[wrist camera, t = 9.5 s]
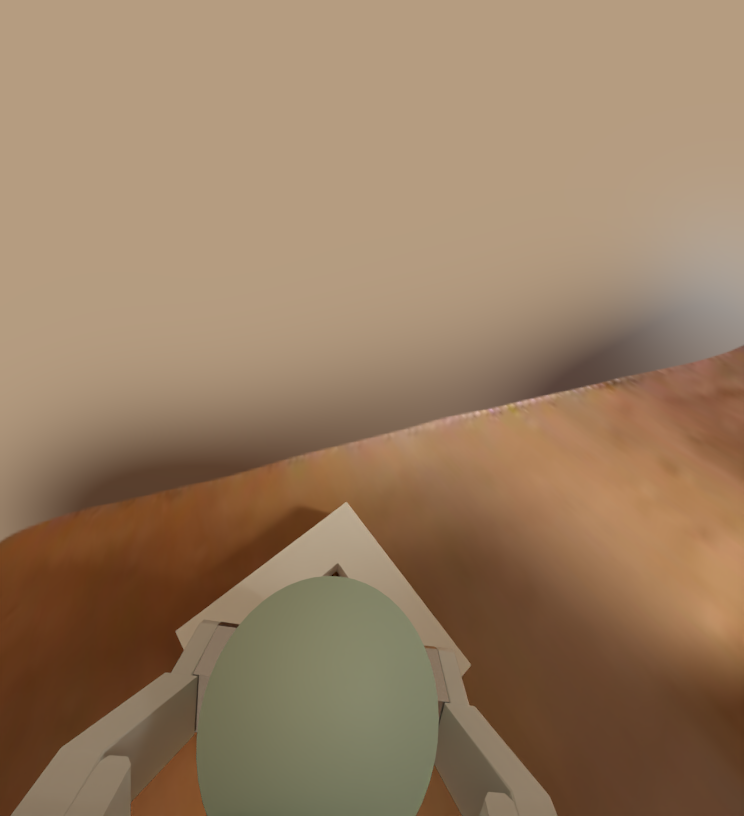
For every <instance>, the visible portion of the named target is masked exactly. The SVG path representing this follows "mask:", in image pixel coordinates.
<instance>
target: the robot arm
mask: <svg viewBox="0 0 744 816" xmlns="http://www.w3.org/2000/svg"><path fill="white" fill-rule="evenodd" d="M239 625H240V624H234V623H227V622H218V621H211V620H203V621H202V622H201V623H200V624H199V625H198V627H197V629H196V630H195V632H194V634H193V635H192V637H191V639H190V641H189V642H188V644H187V646H186V647H185V649H184V651H183V653H182V654H181V656H180V658H179V660H178V661H177V663H176V665H175V666H174V668H173V670H172V672H171V673H167V672H165V673H164V674H162V675H161V676H160V677H158V678H157V679H155V680H154V681H153V682H151V683H150V684H149V685H147V686H146V687H144V688H143V689H142V690H140V691H139V692H137V693H136V694H135V695H133V696H132V697H131V698H129V699H128V700H126V701H125V702H124V703H122V704H121V705H119V706H118V707H117V708H115V709H114V710H113V711H111V712H110V713H108V714H107V715H106V716H104V717H103V718H101V719H100V720H99V721H97V722H96V723H95V724H93V725H92V726H90V727H89V728H88V729H86V730H85V731H83V732H82V733H81V734H79V735H78V736H77V737H75V738H74V739H72V740H71V741H70V742H68V743H67V744H65V745H64V746H63V747H61V748H60V750H59V751H58V752H57V754H56V755H55V756H54V758H53V759H52V760H51V762H50V763H49V765H48V766H47V767H46V769H45V770H44V771H43V773H42V774H41V775H40V777H39V778H38V779H37V781H36V782H35V783H34V785H33V786H32V787H31V789H30V790H29V791H28V793H27V794H26V796H25V797H24V798H23V800H22V801H21V802H20V804H19V805H18V806H17V808H16V809H15V810H14V812H13V813H12V814H11V816H130V812H131V802H132V801H133V799H134V798H135V797H136V796H137V795H138V794H139V793H140V792H141V791H142V790H143V789H144V788H145V787H146V786H147V785H148V784H149V782H150V781H151V780H152V779H153V778H154V777H155V776H156V775H157V774H158V773H159V772H160V771H161V770H162V769H163V768H164V766H165V765H166V764H167V763H168V762H169V761H170V760H171V759H172V758H173V757H174V756H175V755H176V754H177V753H178V752H179V750H180V749H181V748H182V747H183V746H184V745H185V744H186V743H187V742H188V741H189V740H190V739H191V738H192V737H193V736H194V732H197V731H198V723H199V715H200V711H201V706H202V702H203V698H204V693H205V690H206V687H207V684H208V682H209V679H210V676H211V673H212V671H213V669H214V666H215V664H216V662H217V660H218V657H219V655H220V654H221V652H222V650H223V648H224V647H225V645H226V643H227V641H228V640H229V638H230V637H231V636H232V634H233V633H234V631H235V630H236V629H237V627H238V626H239ZM424 647H425V649H426V652H427V655H428V657H429V660H430V663H431V667H432V671H433V675H434V679H435V684H436V691H437V697H438V712H439V727H438V743H437V750H436V757H435V762H434V765H435V767H436V769H437V771H438V772H439V774H440V776H441V778H442V780H443V782H444V783H445V785H446V787H447V789H448V791H449V793H450V794H451V796H452V798H453V800H454V802H455V804H456V805H457V807H458V809H459V811H460V813H461V815H462V816H557V813H556V811H555V808H554V806H553V803H552V800H551V798H550V796H549V795H548V793H547V792H546V791H545V790H544V789H543V787H542V786H541V785H540V784H539V783H538V781H537V780H536V779H535V778H534V777H533V775H532V774H531V773H530V772H529V771H528V769H527V768H526V767H525V766H524V765H523V763H522V762H521V761H520V760H519V759H518V757H517V756H516V755H515V754H514V753H513V751H512V750H511V749H510V748H509V747H508V745H507V744H506V743H505V742H504V741H503V739H502V738H501V737H500V736H499V735H498V733H497V732H496V731H495V730H494V729H493V727H492V726H491V725H490V724H489V723H488V721H487V720H486V719H485V718H484V717H483V715H482V714H481V713H480V712H479V711H478V709H477V708H476V707H475V706H471V705H469V702H468V698H467V694H466V691H465V687H464V684H463V680H462V677H461V673H460V669H459V666H458V662H457V659H456V655H455V652H454V650H453V649H452V648H442V647H434V646H424Z"/></svg>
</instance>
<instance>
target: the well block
mask: <svg viewBox="0 0 744 816" xmlns="http://www.w3.org/2000/svg"><path fill="white" fill-rule="evenodd" d="M336 571H337V573H338V574H339V576H340V577H346V578H351V579H355V580H358V581H360V582H363V583H366V584H368V585H370V586H372V587H374V588H375V589H377V590H379V591H380V592H382V593H383V594H384V595H386V596H387V597H389V598H390V599H391V600H392V601H393V602H394V603H395V604H396V605H397V606H398V607H399V608H400V609H401V610H402V611H403V612H404V614H405V615H406V616H407V617H408V619H409V620H410V622H411V623H412V625H413V626H414V628H415V629H416V631H417V633H418V635H419V637H420V639H421V641H422V643H423V645H424V646H434V647H442V648H452V649H453V650H454V652H455V655H456V659H457V662H458V666H459V669H460V673H461V677H462V676H463V675H464V673H465V672H466V671H467V670H468V669H469V667H470V666H471V664H470V662H469V661H468V660H467V659H466V657H465V656H464V655H463V653H462V652H461V651H460V649H459V648H458V647H457V645H456V644H455V643H454V642H453V640H452V639H451V638H450V636H449V635H448V634H447V632H446V631H445V630H444V628H443V627H442V626H441V625H440V623H439V622H438V621H437V619H436V618H435V617H434V615H433V614H432V613H431V611H430V610H429V609H428V608H427V606H426V605H425V604H424V602H423V601H422V600H421V598H420V597H419V596H418V594H417V593H416V592H415V591H414V589H413V588H412V587H411V585H410V584H409V583H408V581H407V580H406V579H405V577H404V576H403V575H402V574H401V572H400V571H399V570H398V568H397V567H396V566H395V564H394V563H393V562H392V560H391V559H390V558H389V557H388V555H387V554H386V553H385V551H384V550H383V549H382V547H381V546H380V545H379V543H378V542H377V541H376V540H375V538H374V537H373V536H372V534H371V533H370V532H369V530H368V529H367V528H366V526H365V525H364V524H363V523H362V521H361V520H360V519H359V517H358V516H357V515H356V513H355V512H354V511H353V509H352V508H351V507H350V506H349V504H348V503H347V502H345V503H344V504H343V505H342V506H340V507H339V508H338V509H336V510H335V511H334V512H332V513H331V514H330V515H328V516H327V517H326V518H324V519H323V520H322V521H320V522H319V523H318V524H316V525H315V526H314V527H312V528H311V529H310V530H308V531H307V532H306V533H304V534H303V535H302V536H301V537H299V538H298V539H297V540H295V541H294V542H293V543H291V544H290V545H289V546H287V547H286V548H285V549H283V550H282V551H281V552H279V553H278V554H277V555H275V556H274V557H273V558H271V559H270V560H269V561H267V562H266V563H265V564H263V565H262V566H261V567H260V568H258V569H257V570H256V571H254V572H253V573H252V574H250V575H249V576H248V577H246V578H245V579H244V580H242V581H241V582H240V583H238V584H237V585H236V586H234V587H233V588H232V589H230V590H229V591H228V592H226V593H225V594H224V595H222V596H221V597H220V598H218V599H217V600H216V601H215V602H213V603H212V604H211V605H209V606H208V607H207V608H205V609H204V610H203V611H201V612H200V613H199V614H197V615H196V616H195V617H193V618H192V619H191V620H189V621H188V622H187V623H185V624H184V625H183V626H181V627H180V628H179V629H177V630H176V631H175V632H176V634H177V636H178V639H179V641H180V643H181V645H182V647H183V649H185V647H186V646H187V644H188V642H189V641H190V639H191V637H192V635H193V634H194V632H195V630H196V629H197V627H198V625H199V624H200V623H201V622H202V621H203V620H211V621H218V622H227V623H234V624H240V623H241V622H242V621H243V620H244V619H245V618H246V617H247V616H248V614H249V613H250V612H251V611H252V610H254V609H255V608H256V607H257V606H258V605H259V604H260V603H261V602H262V601H264V600H265V599H267V598H268V597H269V596H271V595H272V594H274V593H275V592H277V591H279V590H281V589H282V588H284V587H286V586H288V585H290V584H293V583H296V582H298V581H301V580H305V579H309V578H313V577H321V576H331V575H332V574H334V573H335V572H336Z"/></svg>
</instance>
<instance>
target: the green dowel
mask: <svg viewBox="0 0 744 816" xmlns="http://www.w3.org/2000/svg"><path fill="white" fill-rule="evenodd" d="M438 727H439V712H438V697H437V691H436V684H435V679H434V675H433V671H432V667H431V663H430V660H429V657H428V655H427V652H426V649H425V647H424V645H423V643H422V641H421V639H420V637H419V635H418V633H417V631H416V629H415V628H414V626H413V625H412V623H411V622H410V620H409V619H408V617H407V616H406V615H405V614H404V612H403V611H402V610H401V609H400V608H399V607H398V606H397V605H396V604H395V603H394V602H393V601H392V600H391V599H390V598H389V597H387V596H386V595H384V594H383V593H382V592H380V591H379V590H377V589H375V588H374V587H372V586H370V585H368V584H366V583H363V582H360V581H358V580H355V579H351V578H346V577H340V576H321V577H313V578H309V579H305V580H301V581H298V582H296V583H293V584H290V585H288V586H286V587H284V588H282V589H281V590H279V591H277V592H275V593H274V594H272V595H271V596H269V597H268V598H267V599H265V600H264V601H262V602H261V603H260V604H259V605H258V606H257V607H256V608H255V609H254V610H252V611H251V612H250V613H249V614H248V616H247V617H246V618H245V619H244V620H243V621H242V622H241V623H240V625H239V626H238V627H237V629H236V630H235V631H234V633H233V634H232V636H231V637H230V638H229V640H228V641H227V643H226V645H225V647H224V648H223V650H222V652H221V654H220V655H219V657H218V660H217V662H216V664H215V666H214V669H213V671H212V673H211V676H210V679H209V682H208V684H207V687H206V690H205V693H204V698H203V702H202V706H201V711H200V715H199V723H198V731H197V751H196V760H197V772H198V782H199V787H200V792H201V797H202V802H203V805H204V808H205V811H206V814H207V816H416V814H417V812H418V810H419V808H420V806H421V804H422V802H423V799H424V796H425V794H426V791H427V788H428V785H429V782H430V779H431V775H432V770H433V766H434V762H435V757H436V750H437V743H438Z"/></svg>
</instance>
